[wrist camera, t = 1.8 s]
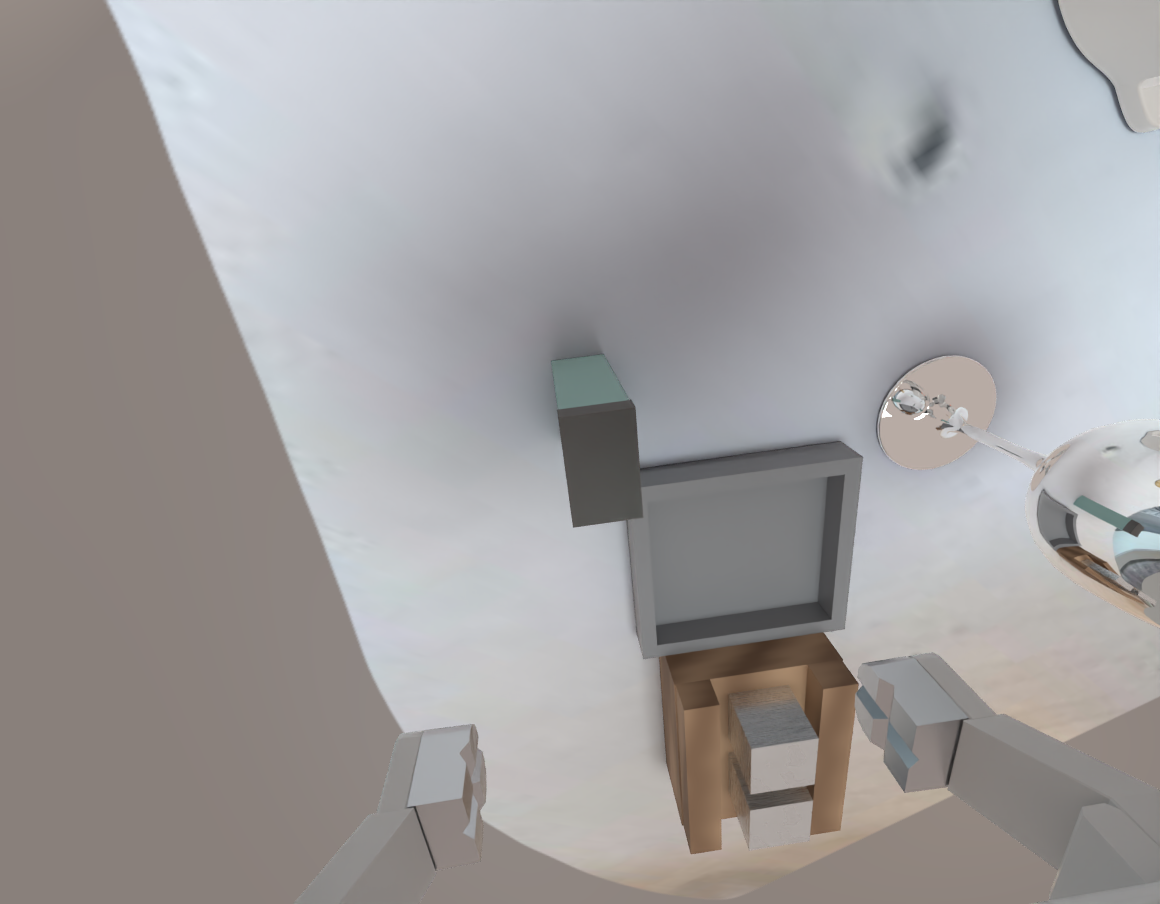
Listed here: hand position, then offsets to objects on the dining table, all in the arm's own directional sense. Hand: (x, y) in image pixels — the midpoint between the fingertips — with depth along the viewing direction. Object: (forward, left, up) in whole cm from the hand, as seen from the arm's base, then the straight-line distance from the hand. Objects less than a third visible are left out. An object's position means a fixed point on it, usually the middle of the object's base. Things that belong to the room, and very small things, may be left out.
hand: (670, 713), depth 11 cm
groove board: (-9, +25, -22) cm, 35 cm away
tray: (-9, +11, -22) cm, 26 cm away
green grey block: (0, 0, -22) cm, 22 cm away
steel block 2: (-9, +27, -17) cm, 33 cm away
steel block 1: (-9, +21, -17) cm, 29 cm away
